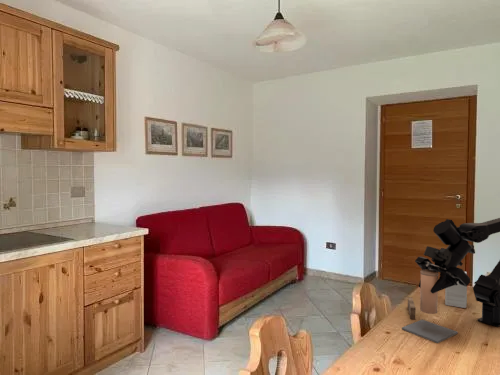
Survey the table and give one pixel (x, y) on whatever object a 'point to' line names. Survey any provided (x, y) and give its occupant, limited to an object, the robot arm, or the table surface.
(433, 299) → the terracotta jar
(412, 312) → the walnut rail
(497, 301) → the robot arm
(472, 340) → the table surface
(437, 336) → the dark grey mat
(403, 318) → the table surface
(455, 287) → the supplement box
